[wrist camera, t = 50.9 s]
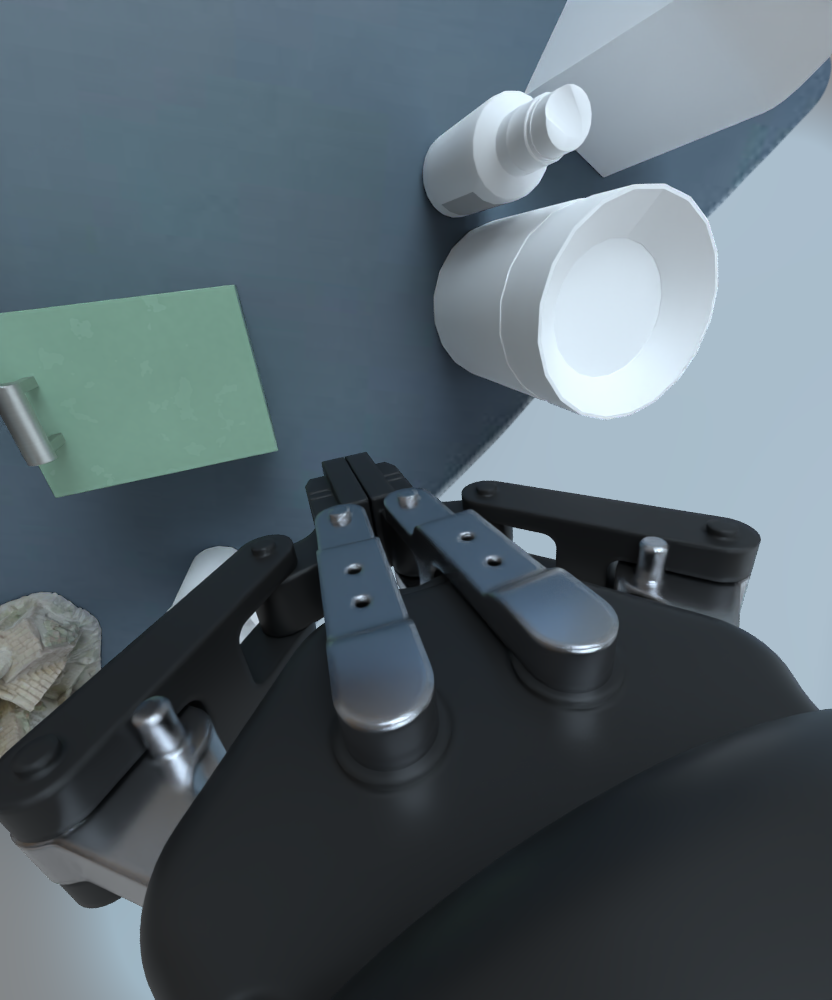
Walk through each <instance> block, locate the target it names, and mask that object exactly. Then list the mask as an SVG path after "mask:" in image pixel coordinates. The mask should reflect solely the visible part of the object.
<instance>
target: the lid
mask: <svg viewBox="0 0 832 1000" xmlns="http://www.w3.org/2000/svg"><path fill="white" fill-rule="evenodd" d="M0 415H1V417H2V419H3V421H4V422H5V424H6V426H7V428H8V430H9V432H10V433H11V435H12V437H13V439H14V441H15V442H16V444H17V446H18V448H19V450H20V452H21V453H22V455H23V457H24V459H25V461H26V463H27V464H28V465H29V466H39V468H40V469H41V471H42V473H43V475H44V477H45V479H46V481H47V483H48V484H49V486H50V488H51V490H52V492H53V494H54V496H55V497H56V498H58V497H63V496H67V495H72V494H77V493H81V492H86V491H91V490H96V489H100V488H105V487H110V486H114V485H119V484H124V483H128V482H133V481H138V480H143V479H147V478H152V477H157V476H161V475H166V474H171V473H175V472H180V471H185V470H190V469H194V468H199V467H204V466H208V465H213V464H218V463H222V462H227V461H232V460H237V459H241V458H246V457H251V456H255V455H260V454H265V453H269V452H274V451H278V448H277V444H276V440H275V436H274V432H273V429H272V425H271V421H270V417H269V414H268V410H267V406H266V402H265V399H264V395H263V391H262V387H261V384H260V380H259V376H258V372H257V369H256V365H255V361H254V357H253V354H252V350H251V346H250V342H249V339H248V335H247V331H246V327H245V323H244V320H243V316H242V312H241V308H240V305H239V301H238V297H237V293H236V290H235V286H234V285H227V286H219V287H211V288H203V289H195V290H187V291H178V292H170V293H162V294H154V295H146V296H137V297H129V298H121V299H113V300H105V301H96V302H88V303H80V304H72V305H64V306H56V307H47V308H39V309H31V310H23V311H15V312H6V313H0Z"/></svg>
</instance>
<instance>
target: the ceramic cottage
mask: <svg viewBox="0 0 832 1000" xmlns="http://www.w3.org/2000/svg"><path fill="white" fill-rule="evenodd" d="M100 640H101V628H100V625H99V622H98V620H97V619H96V618H95V617H94V616H92V615H90V613H89V612H88V611H86V610H85V609H84V610H82V608H81V607H80V608H77V607H76V606H75V605H74V604H72V603H71V601H70V600H69V601H67V600H66V599H65V598H63V597H62V596H61V595H58V594H57V593H53V594H52V593H49V592H44V593H43V592H40V593H39V592H38V593H33V594H30V595H29V596H23V597H21V598H20V599H16V600H11V601H10V602H7V603H5V604H3V605H0V758H1V757H2V756H3V755H4V754H5V753H6V752H7V751H8V750H9V749H10V748H11V747H12V746H13V745H15V744H16V743H17V742H18V741H19V740H20V739H22V738H23V737H24V736H25V735H26V734H27V733H28V732H30V731H31V730H32V729H33V728H34V727H35V726H36V725H38V724H39V723H40V722H41V721H42V720H43V719H45V718H46V717H47V716H48V715H49V714H50V713H51V712H53V711H54V710H55V709H56V708H57V707H58V706H59V705H61V704H62V703H63V702H64V701H65V700H66V699H68V698H69V697H70V696H71V695H72V694H73V693H74V692H76V691H77V690H78V689H79V688H80V687H81V686H82V685H84V684H85V683H86V682H87V681H88V680H89V679H90V678H92V677H93V676H94V675H95V674H96V673H97V672H99V671H100V670H101V662H100V661H101V657H100V653H101V651H100V650H101V641H100Z"/></svg>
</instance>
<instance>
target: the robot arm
mask: <svg viewBox="0 0 832 1000" xmlns="http://www.w3.org/2000/svg"><path fill="white" fill-rule="evenodd" d="M322 468H323V472H324V476H322V477H318V478H314V479H310V480H309V481H308V483H307V485H306V487H305V488H306V493H307V497H308V501H309V505H310V509H311V513H312V517H313V521H314V525H315V529H314V531H313V532H312V533H311V534H310V535H309V536H307V537H306V538H304V539H302V540H300V541H298V542H296V543H294V544H293V542H292V540H291V539H290V538H289V537H287V536H284V535H268V536H263V537H260V538H257V539H254V540H252V541H250V542H248V543H247V544H245V545H244V546H242V547H241V548H240V549H239V550H238V551H236V552H235V553H234V554H233V555H232V556H231V557H230V558H228V559H227V560H226V561H225V562H224V563H223V564H222V565H220V566H219V567H218V568H217V569H216V570H215V571H213V572H212V573H211V574H210V575H209V576H208V577H207V578H205V579H204V580H203V581H202V582H201V583H200V584H199V585H197V586H196V587H195V588H194V589H193V590H192V591H190V592H189V593H188V594H187V595H186V596H185V597H184V598H182V599H181V600H180V601H179V602H178V603H177V604H176V605H174V606H173V607H172V608H171V609H170V610H169V611H168V612H166V613H165V614H164V615H163V616H162V617H161V618H159V619H158V620H157V621H156V622H155V623H154V624H153V625H151V626H150V627H149V628H148V629H147V630H146V631H145V632H143V633H142V634H141V635H140V636H139V637H138V638H136V639H135V640H134V641H133V642H132V643H131V644H130V645H128V646H127V647H126V648H125V649H124V650H123V651H122V652H120V653H119V654H118V655H117V656H116V657H115V658H113V659H112V660H111V661H110V662H109V663H108V664H107V665H105V666H104V667H103V668H102V669H101V670H100V671H99V672H97V673H96V674H95V675H94V676H93V677H92V678H90V679H89V680H88V681H87V682H86V683H85V684H84V685H82V686H81V687H80V688H79V689H78V690H77V691H76V692H74V693H73V694H72V695H71V696H70V697H69V698H68V699H66V700H65V701H64V702H63V703H62V704H61V705H59V706H58V707H57V708H56V709H55V710H54V711H53V712H51V713H50V714H49V715H48V716H47V717H46V718H45V719H43V720H42V721H41V722H40V723H39V724H38V725H36V726H35V727H34V728H33V729H32V730H31V731H30V732H28V733H27V734H26V735H25V736H24V737H23V738H22V739H20V740H19V741H18V742H17V743H16V744H15V745H13V746H12V747H11V748H10V749H9V750H8V751H7V752H6V753H5V754H4V755H3V756H2V757H1V758H0V822H1V823H2V824H3V826H5V828H6V829H7V830H8V831H9V832H10V836H11V838H12V841H13V842H14V843H15V844H16V845H17V846H18V847H19V848H20V849H21V850H22V851H23V852H24V853H25V854H26V855H27V856H28V857H29V858H30V859H31V861H32V862H33V863H34V864H35V865H36V866H37V867H38V868H39V869H40V870H41V871H42V872H43V873H44V874H45V875H46V876H47V877H48V878H49V879H50V880H51V881H52V882H54V883H57V884H60V885H61V886H62V887H63V888H64V889H65V890H66V891H67V892H68V894H69V895H71V897H72V898H73V899H74V900H75V901H76V902H77V903H78V904H79V905H81V906H83V907H86V908H99V907H103V906H106V905H108V904H111V903H113V902H115V901H116V900H118V899H120V898H121V897H123V898H125V899H127V900H129V901H131V902H133V903H135V904H137V905H139V906H142V907H143V909H142V915H141V926H140V947H141V957H142V964H143V968H144V972H145V976H146V979H147V982H148V985H149V987H150V989H151V991H152V994H153V996H154V998H155V1000H832V709H825V710H819V709H818V708H817V707H816V706H815V705H814V704H813V702H812V701H811V700H810V699H809V697H808V696H807V695H806V694H805V692H804V691H803V690H802V688H801V687H800V685H799V684H798V682H797V681H796V679H795V678H794V676H793V675H792V673H791V672H790V670H789V669H788V667H787V666H786V665H785V663H784V662H783V661H782V660H781V659H780V658H779V657H778V656H777V655H776V653H774V652H773V651H772V650H771V649H770V648H769V647H768V646H767V645H765V644H764V643H763V642H761V641H760V640H759V639H757V638H756V637H754V636H753V635H751V634H749V633H748V632H746V631H744V630H743V629H741V628H739V619H740V618H739V617H740V610H741V607H742V603H743V600H744V597H745V593H746V589H747V586H748V582H749V579H750V575H751V572H752V569H753V565H754V561H755V558H756V555H757V551H758V547H759V544H760V541H761V539H760V535H759V534H758V532H757V531H755V530H754V529H753V528H751V527H750V526H748V525H747V524H744V523H742V522H740V521H737V520H733V519H730V518H724V517H718V516H712V515H706V514H700V513H693V512H686V511H681V510H675V509H668V508H661V507H656V506H649V505H643V504H637V503H630V502H624V501H618V500H611V499H605V498H599V497H592V496H586V495H580V494H574V493H567V492H561V491H555V490H549V489H542V488H536V487H530V486H523V485H517V484H510V483H504V482H498V481H480V482H475V483H472V484H469V485H468V486H466V487H465V488H464V489H463V490H462V500H461V501H451V502H441V501H440V500H439V499H438V498H436V497H435V496H434V495H433V494H432V493H431V492H429V491H428V490H426V489H422V488H413V486H412V485H411V484H410V483H409V482H408V481H407V479H406V478H404V476H403V475H402V473H400V471H399V470H398V469H397V468H396V466H394V465H392V464H389V463H386V462H382V463H378V464H375V463H374V462H373V460H372V459H371V458H370V456H369V455H368V454H367V452H363V453H359V454H355V455H350V456H346V457H345V459H344V457H341V458H337V459H333V460H328V461H324V462H322ZM513 527H516V528H520V529H524V530H529V531H534V532H539V533H543V534H546V535H548V536H550V537H551V538H552V539H553V540H554V542H555V544H556V549H557V550H556V560H554V559H549V558H545V557H541V556H537V555H533V554H529V553H526V552H525V551H524V550H523V549H521V548H520V547H519V546H518V545H516V544H515V543H514V542H513V530H512V528H513ZM392 566H393V567H394V570H395V576H396V581H397V583H396V581H395V578H394V575H393V573H392V570H391V568H390V567H392ZM397 585H398V586H399V588H400V589H398V586H397ZM255 612H256V614H257V617H258V620H259V623H258V624H257V625H256V626H255V628H254V629H253V630H252V631H251V632H250V633H249V634H248V636H247V637H246V638H245V639H244V640H243V641H242V642H241V644H240V642H239V638H240V633H241V630H242V627H243V626H244V624H245V623H246V621H247V620H248V619H249V618H250V617H251V616H252V615H253V614H254V613H255ZM323 617H324V619H325V623H324V624H322V625H321V626H319V627H318V628H317V629H316V624H315V622H316V621H318V620H320V619H321V618H323Z"/></svg>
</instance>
